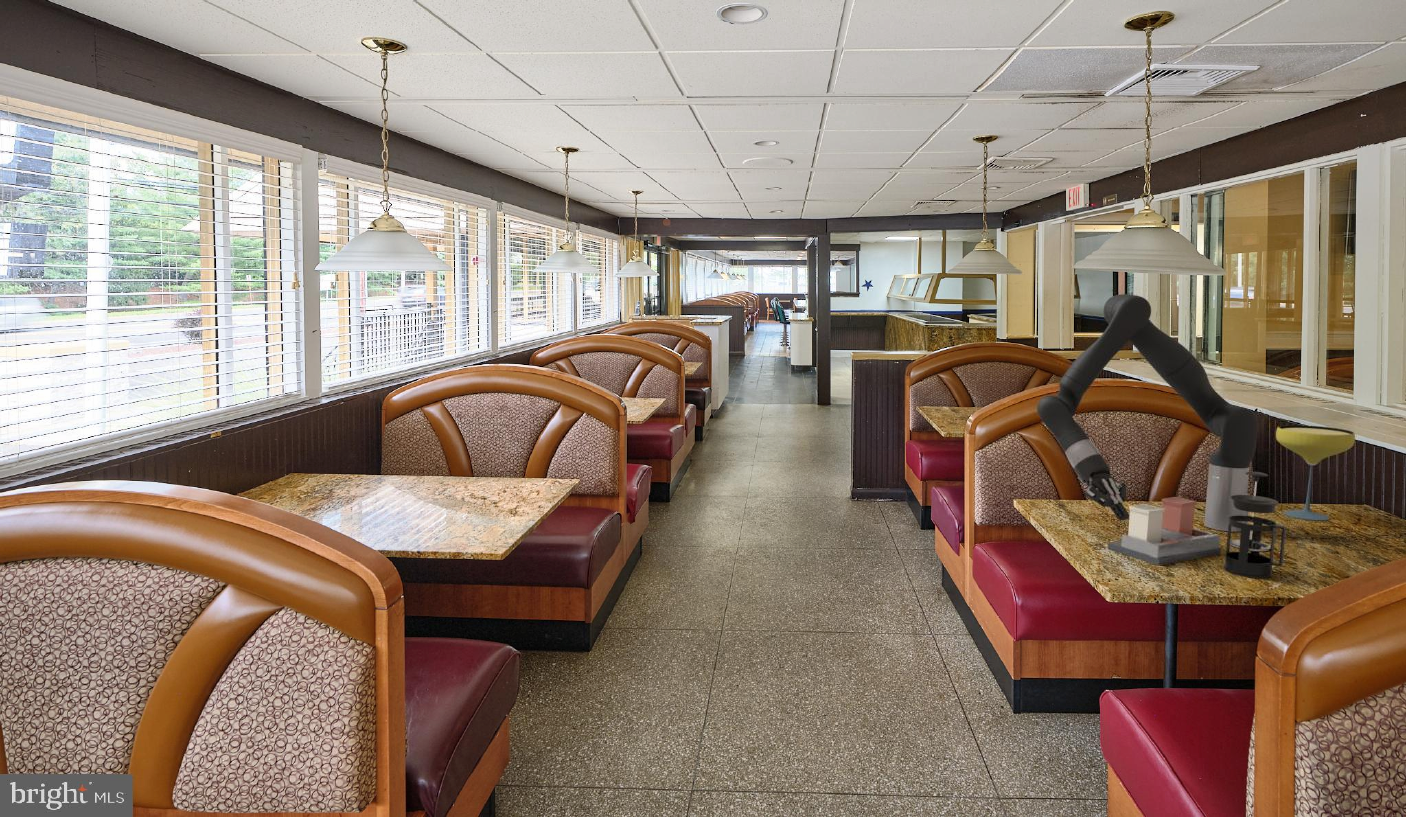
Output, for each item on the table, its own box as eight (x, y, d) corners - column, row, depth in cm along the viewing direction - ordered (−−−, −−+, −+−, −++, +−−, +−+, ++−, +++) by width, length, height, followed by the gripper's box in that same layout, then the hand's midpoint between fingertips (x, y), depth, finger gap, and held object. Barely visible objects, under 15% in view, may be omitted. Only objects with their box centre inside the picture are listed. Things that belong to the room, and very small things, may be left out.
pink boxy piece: (1158, 537, 213) (1161, 498, 212) (1173, 535, 215) (1176, 496, 214) (1178, 543, 208) (1181, 503, 207) (1193, 540, 211) (1196, 501, 209)
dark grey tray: (1107, 548, 209) (1108, 531, 209) (1167, 538, 218) (1169, 521, 218) (1158, 565, 197) (1160, 546, 196) (1220, 553, 206) (1222, 535, 205)
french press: (1214, 570, 193) (1222, 471, 190) (1227, 561, 199) (1236, 466, 196) (1274, 583, 184) (1284, 480, 181) (1286, 574, 191) (1296, 474, 188)
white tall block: (1126, 546, 206) (1129, 506, 204) (1141, 543, 208) (1144, 503, 207) (1145, 552, 201) (1149, 511, 200) (1161, 549, 203) (1164, 508, 202)
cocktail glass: (1255, 512, 246) (1263, 427, 242) (1291, 505, 254) (1299, 423, 251) (1323, 527, 230) (1333, 436, 226) (1359, 519, 238) (1369, 432, 235)
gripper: (1078, 454, 213) (1116, 513, 203) (1114, 451, 218) (1153, 508, 209) (1059, 471, 218) (1096, 529, 209) (1095, 467, 224) (1133, 523, 214)
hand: (1125, 518), depth 209 cm, fingers closed
